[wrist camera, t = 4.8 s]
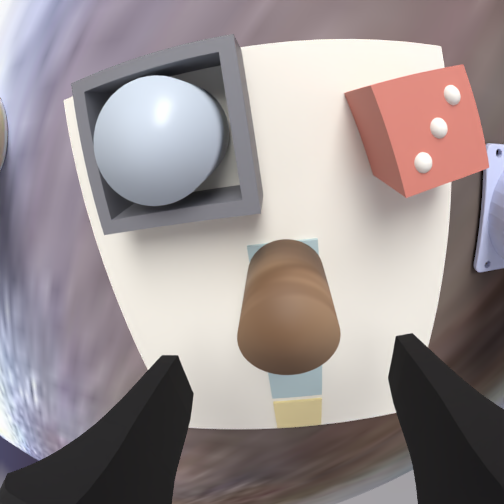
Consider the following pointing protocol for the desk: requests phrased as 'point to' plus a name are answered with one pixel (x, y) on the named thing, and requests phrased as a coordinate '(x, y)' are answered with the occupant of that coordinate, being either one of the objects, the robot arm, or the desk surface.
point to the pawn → (287, 310)
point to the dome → (159, 139)
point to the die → (420, 129)
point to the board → (271, 226)
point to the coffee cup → (3, 134)
